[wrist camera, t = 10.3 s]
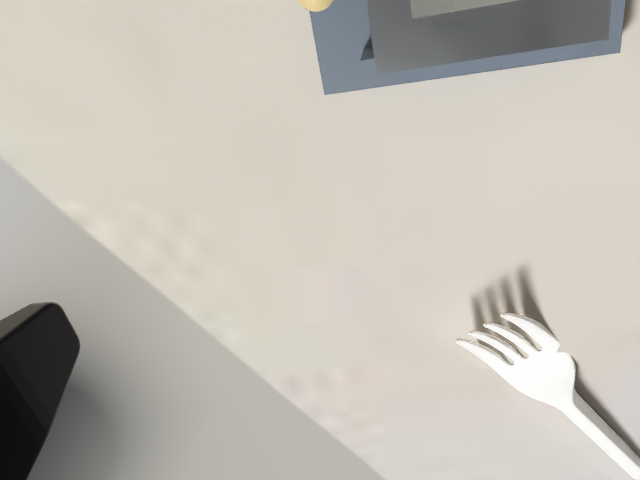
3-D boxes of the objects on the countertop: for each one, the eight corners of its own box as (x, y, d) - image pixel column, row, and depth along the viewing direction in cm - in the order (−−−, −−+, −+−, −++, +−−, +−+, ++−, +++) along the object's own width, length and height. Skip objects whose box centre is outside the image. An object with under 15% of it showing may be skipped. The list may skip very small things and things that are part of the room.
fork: (664, 527, 30) (679, 562, 28) (441, 316, 24) (445, 346, 22) (724, 509, 29) (744, 544, 27) (505, 278, 22) (514, 307, 21)
